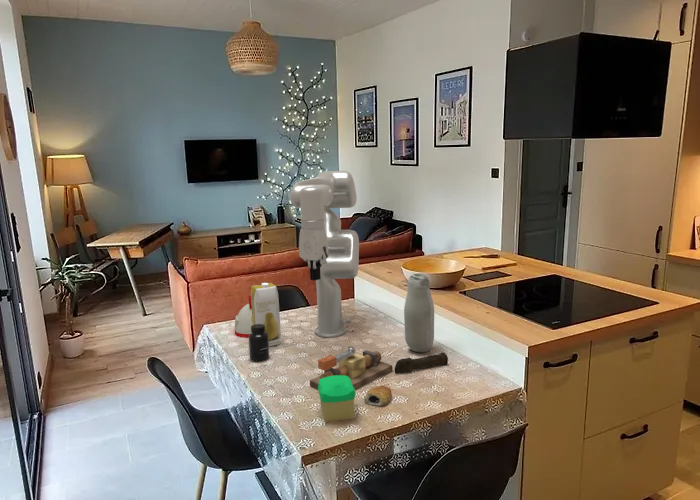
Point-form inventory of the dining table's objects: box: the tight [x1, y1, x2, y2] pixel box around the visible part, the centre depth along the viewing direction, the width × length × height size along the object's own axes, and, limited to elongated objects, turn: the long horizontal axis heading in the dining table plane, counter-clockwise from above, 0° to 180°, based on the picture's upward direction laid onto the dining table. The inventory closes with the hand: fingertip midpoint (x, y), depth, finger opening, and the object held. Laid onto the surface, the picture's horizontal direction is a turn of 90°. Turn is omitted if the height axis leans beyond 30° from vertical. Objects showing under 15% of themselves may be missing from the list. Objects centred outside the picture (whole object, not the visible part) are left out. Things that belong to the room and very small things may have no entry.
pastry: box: [363, 385, 392, 407], centre depth 148 cm, size 9×7×4 cm
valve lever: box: [317, 346, 356, 371], centre depth 156 cm, size 14×3×3 cm, turn 137°
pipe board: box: [309, 349, 393, 391], centre depth 161 cm, size 25×12×7 cm, turn 135°
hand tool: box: [394, 351, 449, 374], centre depth 168 cm, size 19×4×5 cm, turn 110°
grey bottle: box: [403, 273, 435, 353], centre depth 180 cm, size 10×10×28 cm
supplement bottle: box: [248, 324, 270, 363], centre depth 179 cm, size 7×7×12 cm
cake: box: [317, 375, 356, 422], centre depth 140 cm, size 10×11×10 cm
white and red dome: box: [234, 295, 253, 339], centre depth 206 cm, size 14×14×15 cm
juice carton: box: [250, 282, 281, 347], centre depth 191 cm, size 9×8×24 cm
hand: (315, 279), depth 170 cm, fingers closed
